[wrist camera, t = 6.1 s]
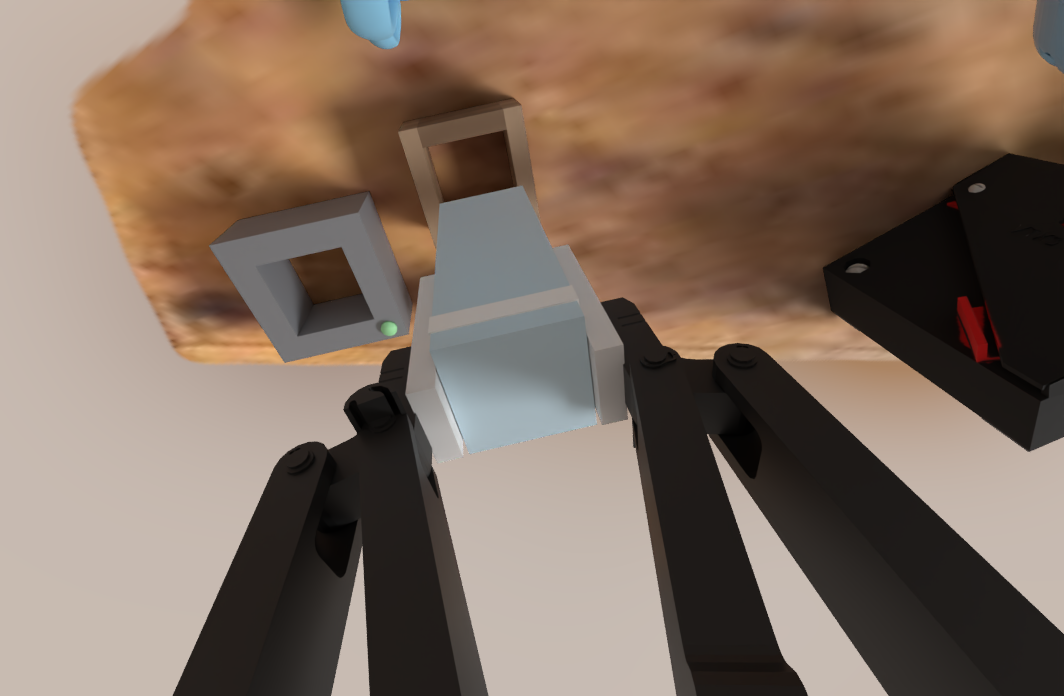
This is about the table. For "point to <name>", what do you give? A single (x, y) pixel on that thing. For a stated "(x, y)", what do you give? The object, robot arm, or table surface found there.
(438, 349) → the plug
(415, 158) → the holster
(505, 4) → the table surface
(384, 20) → the decorative pot
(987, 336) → the electrical component
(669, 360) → the robot arm
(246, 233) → the port
